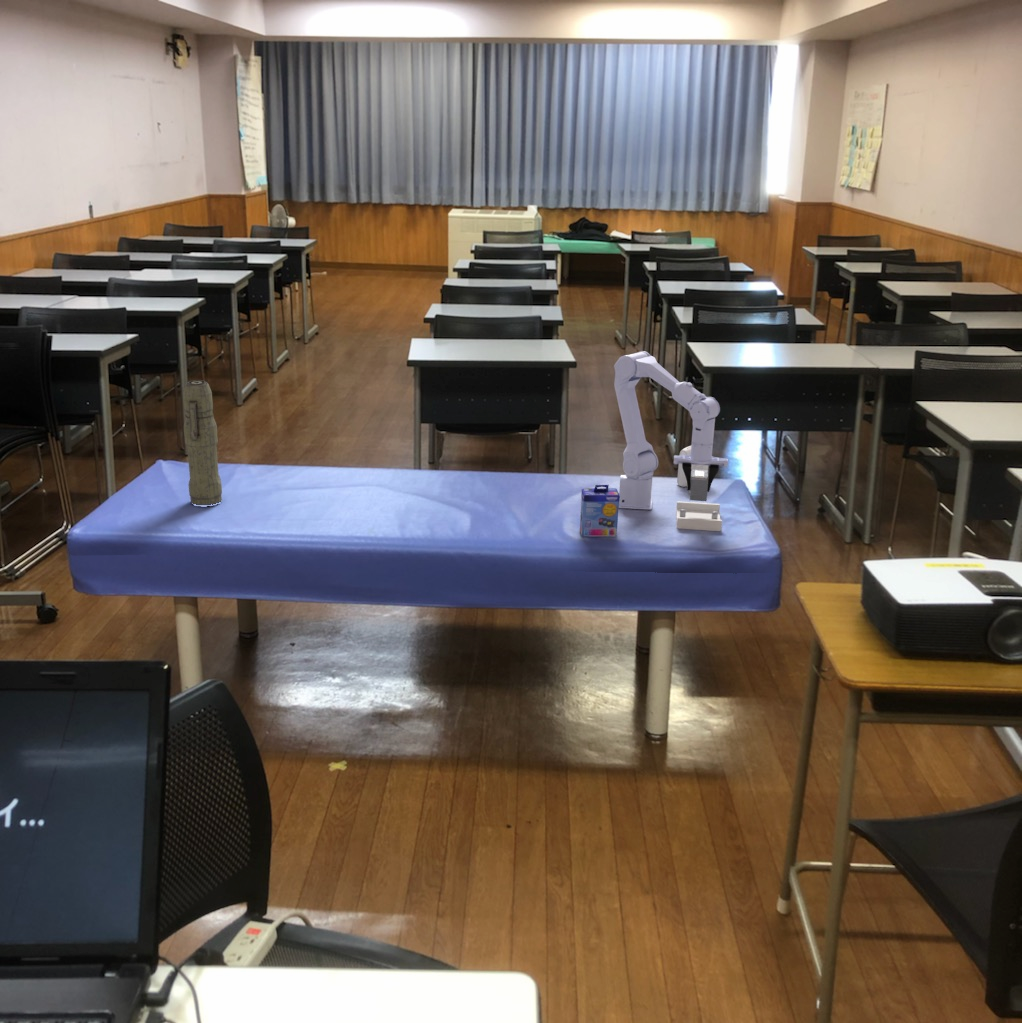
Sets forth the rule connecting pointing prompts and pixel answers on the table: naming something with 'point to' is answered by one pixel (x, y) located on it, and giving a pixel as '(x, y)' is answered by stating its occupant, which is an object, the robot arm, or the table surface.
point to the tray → (698, 516)
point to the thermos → (201, 444)
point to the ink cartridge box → (599, 512)
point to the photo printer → (681, 476)
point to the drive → (698, 485)
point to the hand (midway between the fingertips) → (698, 489)
